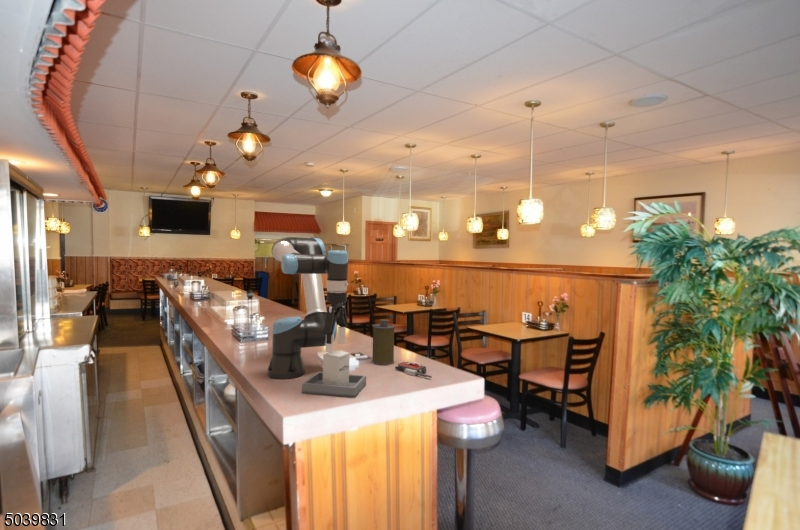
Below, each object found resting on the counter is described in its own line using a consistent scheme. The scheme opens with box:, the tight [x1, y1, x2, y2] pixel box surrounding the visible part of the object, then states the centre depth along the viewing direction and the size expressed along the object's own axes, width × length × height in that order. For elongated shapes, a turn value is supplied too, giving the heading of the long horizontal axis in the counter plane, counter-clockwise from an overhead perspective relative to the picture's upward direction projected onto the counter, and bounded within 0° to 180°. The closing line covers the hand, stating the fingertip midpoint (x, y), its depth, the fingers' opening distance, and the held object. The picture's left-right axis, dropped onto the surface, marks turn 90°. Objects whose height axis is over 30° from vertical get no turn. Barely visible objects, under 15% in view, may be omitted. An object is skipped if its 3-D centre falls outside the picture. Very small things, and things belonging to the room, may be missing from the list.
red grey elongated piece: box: [394, 361, 432, 379], centre depth 176 cm, size 9×4×20 cm
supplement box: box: [322, 350, 350, 386], centre depth 154 cm, size 7×7×13 cm
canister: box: [370, 319, 395, 366], centre depth 192 cm, size 11×10×20 cm
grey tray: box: [301, 371, 367, 399], centre depth 154 cm, size 20×15×4 cm
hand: (335, 347), depth 154 cm, fingers open, 13 cm apart
